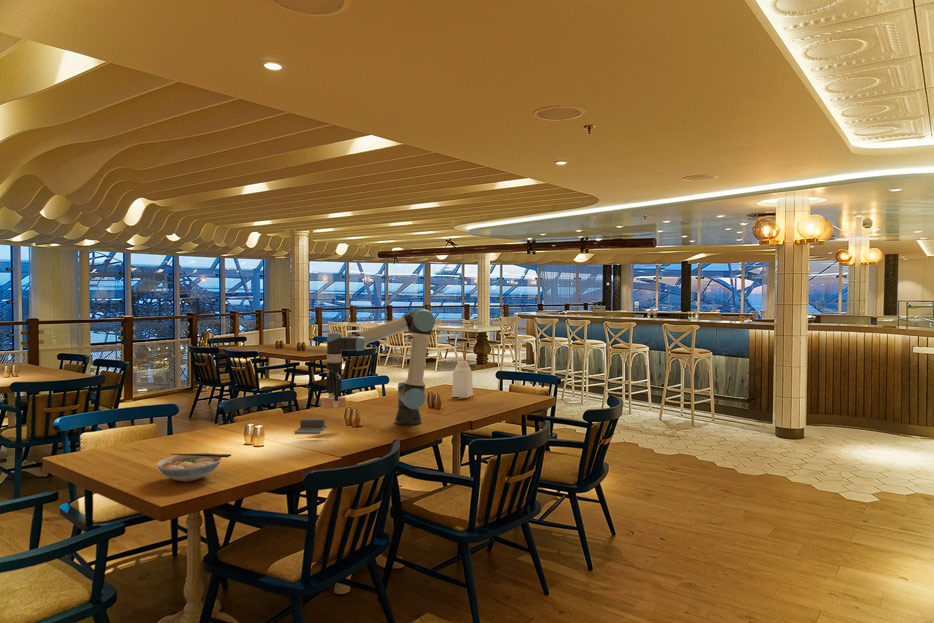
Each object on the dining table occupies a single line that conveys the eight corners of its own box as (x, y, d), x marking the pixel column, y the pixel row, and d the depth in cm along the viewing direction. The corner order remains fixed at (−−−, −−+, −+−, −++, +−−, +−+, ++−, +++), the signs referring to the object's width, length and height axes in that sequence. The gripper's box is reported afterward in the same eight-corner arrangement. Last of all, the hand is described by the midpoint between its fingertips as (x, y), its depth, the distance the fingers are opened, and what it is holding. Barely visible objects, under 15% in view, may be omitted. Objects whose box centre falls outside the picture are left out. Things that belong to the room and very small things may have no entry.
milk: (451, 397, 422) (452, 361, 421) (457, 395, 433) (457, 359, 432) (468, 398, 418) (468, 362, 418) (473, 396, 429) (473, 360, 429)
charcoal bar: (324, 428, 317) (324, 418, 317) (323, 429, 313) (323, 420, 313) (302, 428, 317) (302, 418, 317) (300, 429, 313) (300, 420, 313)
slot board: (326, 428, 319) (326, 424, 319) (320, 435, 303) (320, 431, 303) (302, 428, 319) (302, 424, 319) (294, 435, 303) (294, 431, 303)
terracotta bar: (341, 405, 317) (341, 396, 317) (345, 407, 314) (345, 397, 314) (320, 407, 309) (321, 398, 309) (324, 409, 306) (324, 399, 306)
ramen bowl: (140, 486, 220) (139, 464, 220) (179, 469, 243) (179, 449, 242) (201, 490, 216) (201, 468, 216) (235, 472, 239) (235, 452, 238)
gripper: (320, 360, 316) (319, 404, 316) (335, 363, 303) (334, 409, 303) (332, 360, 321) (332, 403, 321) (348, 363, 308) (347, 408, 308)
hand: (333, 406), depth 312 cm, fingers closed on terracotta bar, 4 cm apart
